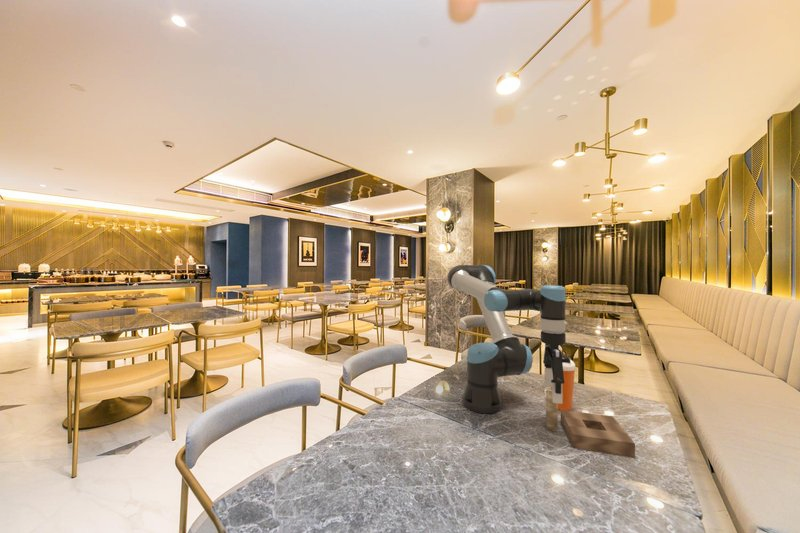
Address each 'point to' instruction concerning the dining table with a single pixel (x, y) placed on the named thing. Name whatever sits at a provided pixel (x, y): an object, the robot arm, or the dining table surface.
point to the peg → (551, 412)
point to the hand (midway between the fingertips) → (552, 394)
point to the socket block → (597, 433)
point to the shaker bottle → (567, 384)
